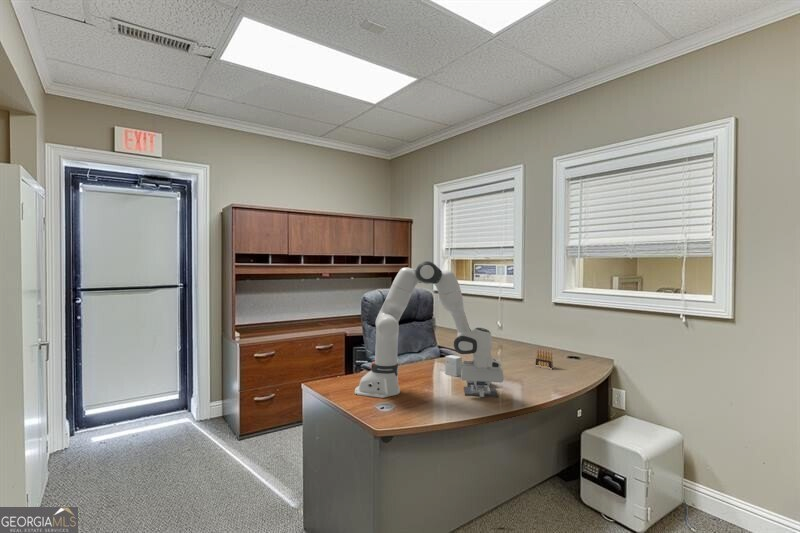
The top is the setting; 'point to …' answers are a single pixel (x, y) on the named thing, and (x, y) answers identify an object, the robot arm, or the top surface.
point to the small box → (453, 365)
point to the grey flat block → (480, 390)
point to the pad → (468, 393)
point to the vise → (477, 383)
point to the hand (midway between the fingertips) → (481, 390)
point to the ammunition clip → (544, 358)
